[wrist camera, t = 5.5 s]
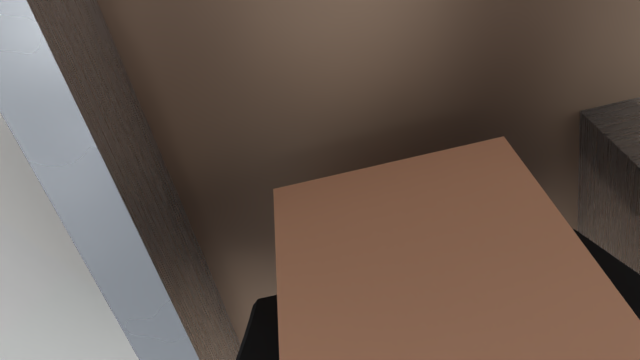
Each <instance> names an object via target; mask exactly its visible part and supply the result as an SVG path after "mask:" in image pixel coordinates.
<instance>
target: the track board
mask: <svg viewBox="0 0 640 360" xmlns="http://www.w3.org/2000/svg"><path fill="white" fill-rule="evenodd" d="M97 2H98V5H99V7H100V10H101V12H102V14H103V17H104V19H105V22H106V24H107V26H108V29H109V31H110V34H111V36H112V38H113V41H114V43H115V46H116V48H117V50H118V53H119V55H120V57H121V60H122V62H123V65H124V67H125V69H126V72H127V74H128V77H129V79H130V81H131V84H132V86H133V89H134V91H135V93H136V96H137V98H138V101H139V103H140V105H141V108H142V110H143V112H144V115H145V117H146V120H147V122H148V124H149V127H150V129H151V132H152V134H153V136H154V139H155V141H156V144H157V146H158V148H159V151H160V153H161V156H162V158H163V160H164V163H165V165H166V167H167V170H168V172H169V175H170V177H171V179H172V182H173V184H174V187H175V189H176V191H177V194H178V196H179V199H180V201H181V203H182V206H183V208H184V211H185V213H186V215H187V218H188V220H189V222H190V225H191V227H192V230H193V232H194V234H195V237H196V239H197V242H198V244H199V246H200V249H201V251H202V254H203V256H204V258H205V261H206V263H207V266H208V268H209V270H210V273H211V275H212V277H213V280H214V282H215V285H216V287H217V289H218V292H219V294H220V297H221V299H222V301H223V304H224V306H225V309H226V311H227V313H228V316H229V318H230V320H231V323H232V325H233V328H234V330H235V332H236V335H237V337H238V340H239V342H240V344H241V343H242V340H243V337H244V334H245V331H246V327H247V324H248V321H249V318H250V314H251V310H252V307H253V305H254V303H255V302H256V301H257V299H260V298H264V297H269V296H273V295H277V280H276V252H275V224H274V196H273V189H275V188H280V187H284V186H288V185H293V184H297V183H301V182H306V181H310V180H315V179H319V178H323V177H328V176H332V175H337V174H341V173H345V172H350V171H354V170H358V169H363V168H367V167H372V166H376V165H380V164H385V163H389V162H393V161H398V160H402V159H407V158H411V157H415V156H420V155H424V154H428V153H433V152H437V151H442V150H446V149H450V148H455V147H459V146H464V145H468V144H472V143H477V142H481V141H485V140H490V139H494V138H499V137H503V136H504V137H505V138H506V140H507V141H508V143H509V144H510V145H511V147H512V148H513V149H514V151H515V152H516V153H517V155H518V156H519V157H520V159H521V160H522V161H523V163H524V164H525V166H526V167H527V168H528V170H529V171H530V172H531V174H532V175H533V176H534V178H535V179H536V180H537V182H538V183H539V184H540V186H541V187H542V189H543V190H544V191H545V193H546V194H547V195H548V197H549V198H550V199H551V201H552V202H553V203H554V205H555V206H556V207H557V209H558V210H559V212H560V213H561V214H562V216H563V217H564V218H565V220H566V221H567V222H568V224H569V225H570V226H571V228H572V229H575V230H576V231H578V183H579V123H580V111H581V110H585V109H590V108H594V107H598V106H603V105H607V104H611V103H615V102H620V101H624V100H628V99H633V98H637V97H640V0H97Z"/></svg>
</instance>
